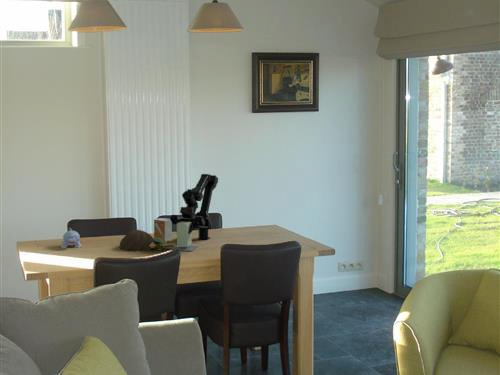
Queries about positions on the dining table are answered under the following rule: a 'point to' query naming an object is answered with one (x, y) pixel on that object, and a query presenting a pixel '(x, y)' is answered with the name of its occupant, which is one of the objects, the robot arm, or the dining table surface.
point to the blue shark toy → (71, 239)
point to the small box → (163, 228)
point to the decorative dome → (136, 241)
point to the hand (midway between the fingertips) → (183, 233)
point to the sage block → (183, 234)
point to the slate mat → (184, 248)
